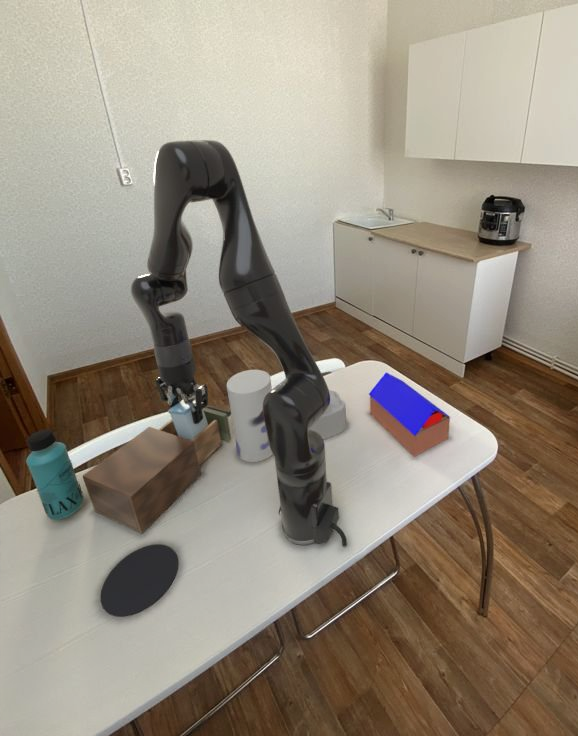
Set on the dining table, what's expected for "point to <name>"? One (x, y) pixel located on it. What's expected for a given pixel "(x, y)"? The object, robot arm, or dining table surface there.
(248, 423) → the container
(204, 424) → the canister
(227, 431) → the drawer
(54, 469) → the beverage bottle
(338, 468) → the dining table surface
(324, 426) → the lumpy-topped squat cylinder
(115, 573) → the mat
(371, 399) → the house
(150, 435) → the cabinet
